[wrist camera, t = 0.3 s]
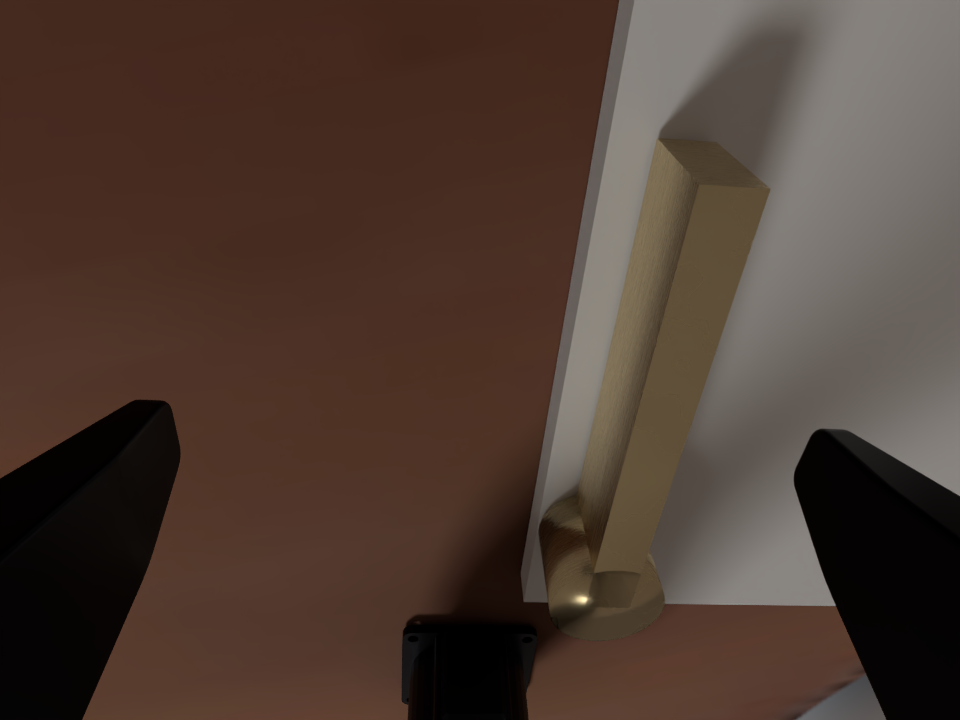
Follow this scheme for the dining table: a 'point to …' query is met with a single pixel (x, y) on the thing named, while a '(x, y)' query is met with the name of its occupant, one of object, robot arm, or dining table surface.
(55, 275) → the dining table surface
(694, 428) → the base
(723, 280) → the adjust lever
